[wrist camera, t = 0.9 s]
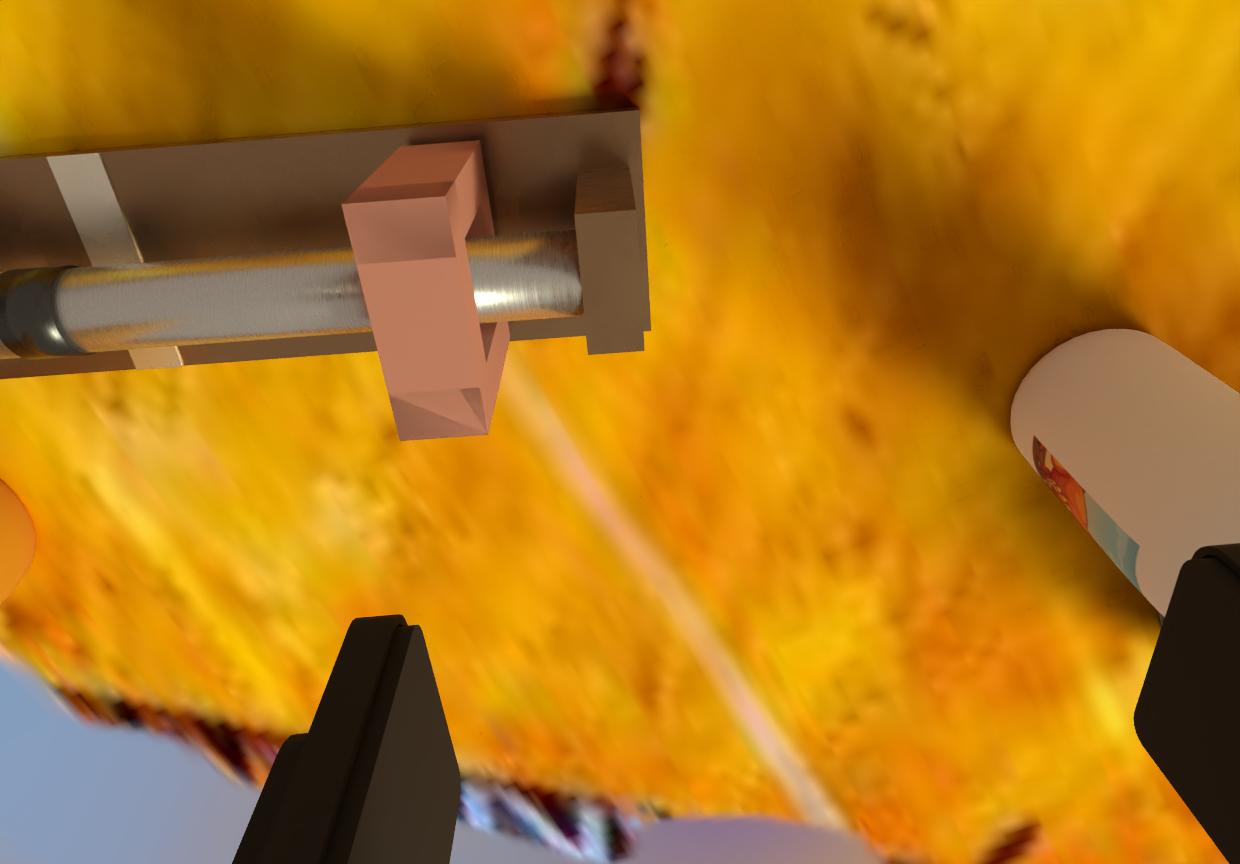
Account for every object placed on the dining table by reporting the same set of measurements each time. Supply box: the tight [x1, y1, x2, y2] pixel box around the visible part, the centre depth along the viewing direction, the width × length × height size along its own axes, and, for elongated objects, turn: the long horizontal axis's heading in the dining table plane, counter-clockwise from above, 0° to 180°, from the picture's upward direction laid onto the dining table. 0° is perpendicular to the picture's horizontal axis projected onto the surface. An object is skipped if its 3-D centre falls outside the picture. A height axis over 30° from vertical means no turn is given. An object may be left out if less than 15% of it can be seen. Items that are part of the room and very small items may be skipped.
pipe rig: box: [0, 107, 651, 379], centre depth 30 cm, size 9×31×7 cm, turn 94°
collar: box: [341, 140, 510, 441], centre depth 28 cm, size 8×3×8 cm, turn 4°
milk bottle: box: [1010, 329, 1240, 617], centre depth 29 cm, size 8×8×20 cm
